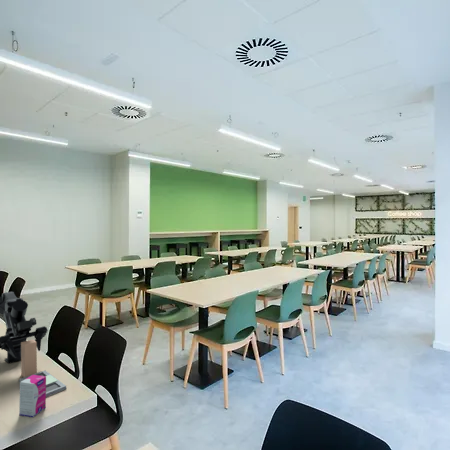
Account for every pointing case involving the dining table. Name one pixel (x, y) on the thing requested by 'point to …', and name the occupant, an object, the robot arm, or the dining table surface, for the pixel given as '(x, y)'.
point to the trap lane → (49, 383)
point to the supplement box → (32, 395)
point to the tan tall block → (28, 358)
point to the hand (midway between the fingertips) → (27, 353)
